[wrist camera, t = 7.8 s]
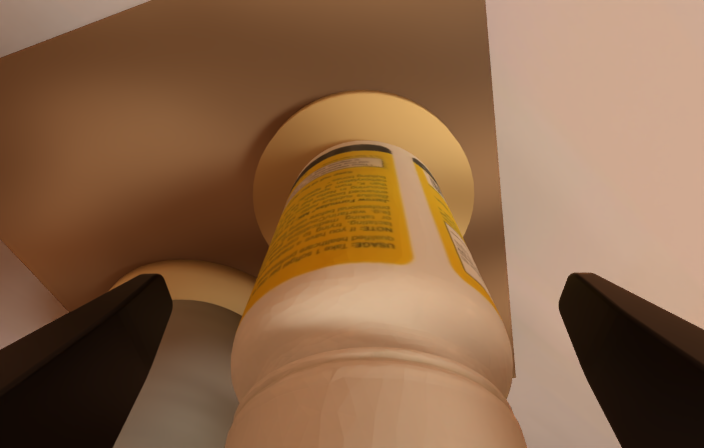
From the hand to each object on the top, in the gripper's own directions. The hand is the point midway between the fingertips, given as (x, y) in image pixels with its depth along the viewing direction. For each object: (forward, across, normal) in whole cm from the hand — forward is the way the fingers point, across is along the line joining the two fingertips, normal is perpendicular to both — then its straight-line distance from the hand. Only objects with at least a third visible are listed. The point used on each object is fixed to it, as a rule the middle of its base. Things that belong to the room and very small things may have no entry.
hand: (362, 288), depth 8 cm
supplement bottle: (+4, 0, 0) cm, 4 cm away
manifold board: (+6, +4, +3) cm, 8 cm away
